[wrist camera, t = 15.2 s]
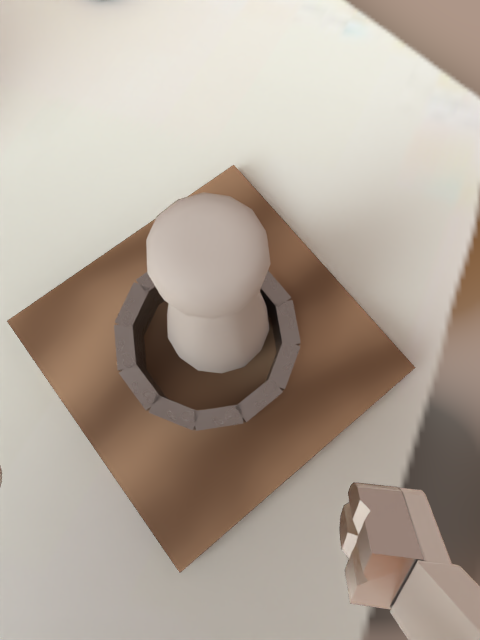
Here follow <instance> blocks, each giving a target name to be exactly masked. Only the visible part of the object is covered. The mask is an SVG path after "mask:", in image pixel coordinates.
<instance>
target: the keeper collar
mask: <svg viewBox="0 0 480 640" xmlns="http://www.w3.org/2000/svg"><path fill="white" fill-rule="evenodd" d="M136 281H137V282H138V283H135V282H134V283H133V285H132V287H131V289H130V291H129V293H128V295H127V297H126V299H125V301H124V303H123V305H122V308H121V310H120V312H119V314H118V316H117V318H116V320H115V323H116V324H117V325H114V332H115V345H116V357H117V370H119V371H121V372H119V374H120V376H121V377H122V378H123V380H124V381H125V382H126V384H127V385H128V387H129V388H130V389H131V391H132V392H133V393H134V395H135V396H136V398H137V399H138V400H139V402H140V403H141V404H142V406H143V407H144V409H145V410H146V411H149V413H151V414H153V415H156V416H158V417H161V418H163V419H166V420H168V421H171V422H173V423H175V424H178V425H180V426H183V427H185V428H188V429H190V430H196V431H199V430H205V429H211V428H218V427H224V426H231V425H237V424H244V423H243V420H244V422H247V421H249V420H250V419H251V418H252V417H253V416H255V415H256V414H257V413H258V412H259V411H261V410H262V409H263V408H264V407H266V406H267V405H268V404H269V403H270V402H272V401H273V400H274V399H275V398H276V397H278V396H279V395H280V394H281V393H283V390H285V388H286V385H287V382H288V380H289V377H290V374H291V371H292V369H293V366H294V363H295V360H296V358H297V355H298V352H299V349H300V347H301V346H299V345H300V344H301V342H300V336H299V331H298V326H297V320H296V315H295V310H294V305H293V300H290V299H291V296H290V295H289V294H288V293H287V292H286V290H285V289H284V288H283V287H282V286H281V285H280V283H279V282H278V281H277V280H276V279H275V278H274V277H273V275H272V274H271V273H270V272H269V271H268V272H267V274H266V277H265V279H264V282H263V284H262V286H261V289H260V293H261V295H262V297H263V299H264V302H265V304H266V306H267V313H268V316H269V317H270V318H271V322H272V328H273V334H274V340H275V345H276V351H277V352H276V355H275V358H274V360H273V363H272V366H271V368H270V371H269V374H268V376H267V379H266V382H265V383H263V384H262V385H261V386H260V387H258V388H257V389H256V390H255V391H254V392H252V393H251V394H250V395H249V396H247V397H246V398H245V399H244V400H242V401H241V402H240V403H239V404H238V405H232V406H225V407H219V408H212V409H206V410H199V411H197V410H194V409H192V408H189V407H187V406H184V405H182V404H179V403H177V402H174V401H172V400H169V399H168V398H167V397H166V396H165V394H164V393H163V392H162V390H161V389H160V388H159V386H158V385H157V384H156V382H155V381H154V379H153V378H152V377H151V375H150V374H149V373H148V371H147V365H146V354H145V344H144V335H145V333H146V331H147V329H148V326H149V324H150V322H151V320H152V318H153V316H154V313H155V311H156V309H157V307H158V305H160V304H161V303H163V302H164V301H165V300H164V299H163V298H162V297H161V295H160V294H159V292H158V290H157V288H156V287H155V285H154V283H153V282H152V280H151V278H150V277H149V275H148V273H147V272H146V273H144V274H143V275H142V276H140V277H139V278H137V279H136Z"/></svg>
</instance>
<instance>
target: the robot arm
mask: <svg viewBox="0 0 480 640" xmlns="http://www.w3.org/2000/svg"><path fill="white" fill-rule="evenodd" d="M1 483H2V470H1V467H0V486H1ZM348 496H349V503H347V504H346V505H344V506H343V509H342V513H341V518H340V541H341V549H342V551H343V552H344V553H345V555H346V556H347V557H348V559H349V560H348V563H347V566H346V568H345V576H346V582H347V588H348V595H349V601H350V603H351V604H358V605H364V606H371V607H378V608H385V609H391V611H390V613H391V614H392V616H393V617H394V619H395V620H396V622H397V623H398V625H399V626H400V628H401V629H402V631H403V632H404V634H405V636H406V637H407V639H408V640H480V586H479V585H478V584H477V583H476V582H475V581H474V580H473V579H472V578H471V577H470V576H469V575H468V574H467V573H466V572H465V571H464V570H463V569H462V568H461V567H460V566H459V565H453V564H452V562H451V560H450V557H449V554H448V552H447V549H446V547H445V544H444V541H443V539H442V536H441V534H440V531H439V528H438V526H437V523H436V520H435V518H434V515H433V513H432V510H431V507H430V504H429V502H428V499H427V497H426V495H425V493H424V492H423V491H422V490H414V489H406V488H397V487H393V486H383V485H374V484H364V483H353V484H352V485H351V486H350V489H349V492H348Z"/></svg>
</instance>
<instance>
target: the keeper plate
mask: <svg viewBox="0 0 480 640" xmlns="http://www.w3.org/2000/svg"><path fill="white" fill-rule="evenodd" d="M203 192H204V193H211V194H218V195H225V196H230V197H232V198H234V199H235V200H237V201H239V202H240V203H242V204H244V205H245V206H247V207H249V208H250V209H252V210H253V212H254V213H255V215H256V216H257V218H258V219H259V221H260V223H261V224H262V226H263V227H264V229H265V230H266V234H267V239H268V247H269V255H270V263H271V264H270V267H269V269H268V271H269V272H270V273H271V274H272V275H273V277H274V278H275V279H276V280H277V281H278V282H279V283H280V285H281V286H282V287H283V288H284V289H285V290H286V292H287V293H288V294H289V295H290V296H291V299H290V300H293V305H294V310H295V315H296V320H297V326H298V331H299V336H300V342H301V344H300V345H299V346H301V347H300V349H299V352H298V355H297V358H296V360H295V363H294V366H293V369H292V371H291V374H290V377H289V380H288V382H287V385H286V388H285V390H283V393H281V394H280V395H279V396H278V397H276V398H275V399H274V400H273V401H272V402H270V403H269V404H268V405H267V406H266V407H264V408H263V409H262V410H261V411H259V412H258V413H257V414H256V415H255V416H253V417H252V418H251V419H250V420H249V421H247V422H244V420H243V423H244V424H237V425H231V426H224V427H218V428H211V429H205V430H199V431H196V430H190V429H188V428H185V427H183V426H180V425H178V424H175V423H173V422H171V421H168V420H166V419H163V418H161V417H158V416H156V415H153V414H151V413H149V411H146V410H145V409H144V407H143V406H142V404H141V403H140V402H139V400H138V399H137V398H136V396H135V395H134V393H133V392H132V391H131V389H130V388H129V387H128V385H127V384H126V382H125V381H124V380H123V378H122V377H121V376H120V374H119V372H121V371H119V370H117V357H116V345H115V332H114V325H117V324H116V323H115V320H116V318H117V316H118V314H119V312H120V310H121V308H122V305H123V303H124V301H125V299H126V297H127V295H128V293H129V291H130V289H131V287H132V285H133V283H134V282H135V283H138V282H137V281H136V279H137V278H139V277H140V276H142V275H143V274H144V273H146V272H147V246H146V239H147V237H148V235H149V233H150V230H151V228H152V226H153V224H154V222H155V220H156V219H154V220H153V221H152V222H150V223H149V224H147V225H146V226H144V227H143V228H141V229H140V230H138V231H137V232H136V233H134V234H133V235H131V236H130V237H128V238H127V239H125V240H124V241H122V242H121V243H120V244H118V245H117V246H115V247H114V248H112V249H111V250H109V251H108V252H107V253H105V254H104V255H102V256H101V257H99V258H98V259H96V260H95V261H93V262H92V263H91V264H89V265H88V266H86V267H85V268H83V269H82V270H80V271H79V272H77V273H76V274H75V275H73V276H72V277H70V278H69V279H67V280H66V281H64V282H63V283H62V284H60V285H59V286H57V287H56V288H54V289H53V290H51V291H50V292H48V293H47V294H46V295H44V296H43V297H41V298H40V299H38V300H37V301H35V302H34V303H32V304H31V305H30V306H28V307H27V308H25V309H24V310H22V311H21V312H19V313H18V314H17V315H15V316H14V317H12V318H11V319H9V320H8V321H7V322H8V323H9V325H10V326H11V328H12V329H13V331H14V332H15V334H16V335H17V336H18V338H19V339H20V341H21V342H22V344H23V345H24V347H25V348H26V350H27V351H28V352H29V354H30V355H31V357H32V358H33V360H34V361H35V363H36V364H37V366H38V367H39V368H40V370H41V371H42V373H43V374H44V376H45V377H46V379H47V380H48V382H49V383H50V385H51V386H52V387H53V389H54V390H55V392H56V393H57V395H58V396H59V398H60V399H61V401H62V402H63V403H64V405H65V406H66V408H67V409H68V411H69V412H70V414H71V415H72V417H73V418H74V419H75V421H76V422H77V424H78V425H79V427H80V428H81V430H82V431H83V433H84V434H85V435H86V437H87V438H88V440H89V441H90V443H91V444H92V446H93V447H94V449H95V450H96V451H97V453H98V454H99V456H100V457H101V459H102V460H103V462H104V463H105V465H106V466H107V468H108V469H109V470H110V472H111V473H112V475H113V476H114V478H115V479H116V481H117V482H118V484H119V485H120V486H121V488H122V489H123V491H124V492H125V494H126V495H127V497H128V498H129V500H130V501H131V502H132V504H133V505H134V507H135V508H136V510H137V511H138V513H139V514H140V516H141V517H142V518H143V520H144V521H145V523H146V524H147V526H148V527H149V529H150V530H151V532H152V533H153V535H154V536H155V537H156V539H157V540H158V542H159V543H160V545H161V546H162V548H163V549H164V551H165V552H166V553H167V555H168V556H169V558H170V559H171V561H172V562H173V564H174V565H175V567H176V568H177V569H178V571H179V572H181V571H183V570H184V569H185V568H186V567H187V566H188V565H190V564H191V563H192V562H193V561H194V560H195V559H196V558H198V557H199V556H200V555H201V554H202V553H203V552H204V551H206V550H207V549H208V548H209V547H210V546H211V545H212V544H214V543H215V542H216V541H217V540H218V539H219V538H220V537H222V536H223V535H224V534H225V533H226V532H227V531H229V530H230V529H231V528H232V527H233V526H234V525H235V524H237V523H238V522H239V521H240V520H241V519H242V518H243V517H245V516H246V515H247V514H248V513H249V512H250V511H251V510H253V509H254V508H255V507H256V506H257V505H258V504H259V503H261V502H262V501H263V500H264V499H265V498H266V497H268V496H269V495H270V494H271V493H272V492H273V491H274V490H276V489H277V488H278V487H279V486H280V485H281V484H282V483H284V482H285V481H286V480H287V479H288V478H289V477H290V476H292V475H293V474H294V473H295V472H296V471H297V470H298V469H300V468H301V467H302V466H303V465H304V464H305V463H307V462H308V461H309V460H310V459H311V458H312V457H313V456H315V455H316V454H317V453H318V452H319V451H320V450H321V449H323V448H324V447H325V446H326V445H327V444H328V443H329V442H331V441H332V440H333V439H334V438H335V437H336V436H337V435H339V434H340V433H341V432H342V431H343V430H344V429H346V428H347V427H348V426H349V425H350V424H351V423H352V422H354V421H355V420H356V419H357V418H358V417H359V416H360V415H362V414H363V413H364V412H365V411H366V410H367V409H368V408H370V407H371V406H372V405H373V404H374V403H375V402H377V401H378V400H379V399H380V398H381V397H382V396H383V395H385V394H386V393H387V392H388V391H389V390H390V389H391V388H393V387H394V386H395V385H396V384H397V383H398V382H399V381H401V380H402V379H403V378H404V377H405V376H406V375H407V374H409V373H410V372H411V371H412V370H413V369H414V368H415V367H414V366H413V365H412V363H411V362H410V361H409V360H408V359H407V358H406V357H405V356H404V355H403V353H402V352H401V351H400V350H399V349H398V348H397V347H396V346H395V344H394V343H393V342H392V341H391V340H390V339H389V338H388V337H387V336H386V334H385V333H384V332H383V331H382V330H381V329H380V328H379V327H378V325H377V324H376V323H375V322H374V321H373V320H372V319H371V318H370V316H369V315H368V314H367V313H366V312H365V311H364V310H363V309H362V308H361V306H360V305H359V304H358V303H357V302H356V301H355V300H354V299H353V297H352V296H351V295H350V294H349V293H348V292H347V291H346V290H345V289H344V287H343V286H342V285H341V284H340V283H339V282H338V281H337V280H336V278H335V277H334V276H333V275H332V274H331V273H330V272H329V271H328V270H327V268H326V267H325V266H324V265H323V264H322V263H321V262H320V261H319V259H318V258H317V257H316V256H315V255H314V254H313V253H312V252H311V251H310V249H309V248H308V247H307V246H306V245H305V244H304V243H303V242H302V240H301V239H300V238H299V237H298V236H297V235H296V234H295V233H294V232H293V230H292V229H291V228H290V227H289V226H288V225H287V224H286V223H285V221H284V220H283V219H282V218H281V217H280V216H279V215H278V214H277V213H276V211H275V210H274V209H273V208H272V207H271V206H270V205H269V204H268V202H267V201H266V200H265V199H264V198H263V197H262V196H261V195H260V194H259V192H258V191H257V190H256V189H255V188H254V187H253V186H252V185H251V183H250V182H249V181H248V180H247V179H246V178H245V177H244V176H243V175H242V173H241V172H240V171H239V170H238V169H237V168H236V167H235V166H234V165H233V166H231V167H230V168H228V169H227V170H226V171H224V172H223V173H221V174H220V175H218V176H217V177H215V178H214V179H213V180H211V181H210V182H208V183H207V184H205V185H204V186H202V187H201V188H199V189H198V190H197V191H195V192H194V193H192V194H191V195H189V196H192V195H196V194H199V193H203ZM189 196H188V197H189ZM168 304H169V303H167V302H166V301H164V302H163V303H161V304H160V305H158V307H157V309H156V311H155V313H154V316H153V318H152V320H151V322H150V324H149V326H148V329H147V331H146V333H145V335H144V344H145V354H146V365H147V371H148V373H149V374H150V375H151V377H152V378H153V379H154V381H155V382H156V384H157V385H158V386H159V388H160V389H161V390H162V392H163V393H164V394H165V396H166V397H167V398H168V399H169V400H172V401H174V402H177V403H179V404H182V405H184V406H187V407H189V408H192V409H194V410H197V411H199V410H206V409H212V408H219V407H225V406H232V405H238V404H239V403H240V402H241V401H242V400H244V399H245V398H246V397H247V396H249V395H250V394H251V393H252V392H254V391H255V390H256V389H257V388H258V387H260V386H261V385H262V384H263V383H265V382H266V379H267V376H268V374H269V371H270V368H271V366H272V363H273V360H274V358H275V355H276V352H277V351H276V345H275V340H274V334H273V328H272V322H271V318H270V317H269V316H268V321H269V332H268V334H267V337H266V340H265V342H264V345H263V347H262V350H261V351H260V352H259V353H258V354H257V355H256V356H255V357H254V358H253V359H252V360H251V361H250V362H249V363H248V364H247V365H246V366H245V367H242V368H239V369H235V370H232V371H228V372H225V373H214V372H205V371H198V370H197V369H195V368H194V367H192V366H191V365H190V364H188V363H187V362H185V361H184V360H183V359H181V358H180V357H179V356H178V354H177V353H176V351H175V349H174V347H173V346H172V344H171V342H170V341H169V339H168V331H167V311H168Z"/></svg>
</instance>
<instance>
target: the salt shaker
mask: <svg viewBox="0 0 480 640" xmlns="http://www.w3.org/2000/svg"><path fill="white" fill-rule="evenodd" d="M146 246H147V273H148V275H149V277H150V278H151V280H152V282H153V283H154V285H155V287H156V288H157V290H158V292H159V294H160V295H161V297H162V298H163V299H164V300H165V301H166V302H167V303H169V304H168V311H167V331H168V339H169V341H170V342H171V344H172V346H173V347H174V349H175V351H176V353H177V354H178V356H179V357H180V358H181V359H183V360H184V361H185V362H187V363H188V364H190V365H191V366H192V367H194V368H195V369H197V370H198V371H205V372H214V373H225V372H228V371H232V370H235V369H239V368H242V367H245V366H246V365H247V364H248V363H249V362H250V361H251V360H252V359H253V358H254V357H255V356H256V355H257V354H258V353H259V352H260V351H261V350H262V347H263V345H264V342H265V340H266V337H267V334H268V332H269V321H268V313H267V306H266V304H265V302H264V299H263V297H262V295H261V293H260V289H261V286H262V284H263V282H264V279H265V277H266V274H267V272H268V269H269V267H270V264H271V263H270V255H269V247H268V239H267V234H266V230H265V229H264V227H263V226H262V224H261V223H260V221H259V219H258V218H257V216H256V215H255V213H254V212H253V210H252V209H250V208H249V207H247V206H245V205H244V204H242V203H240V202H239V201H237V200H235V199H234V198H232V197H230V196H225V195H218V194H211V193H204V192H203V193H199V194H196V195H192V196H189V197H185V198H182V199H178V200H177V201H175V202H174V203H173V204H172V205H170V206H169V207H168V208H167V209H165V210H164V211H163V212H162V213H160V214H159V215H158V216H157V217H156V220H155V222H154V224H153V226H152V228H151V230H150V233H149V235H148V237H147V239H146Z"/></svg>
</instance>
